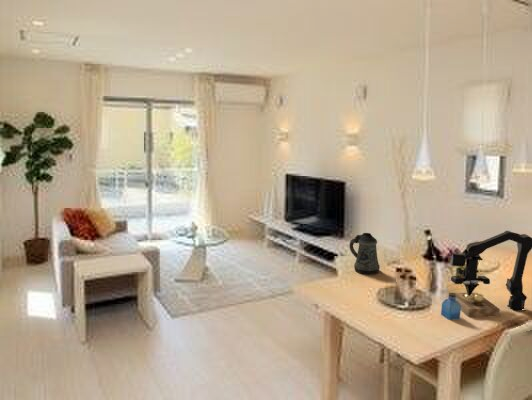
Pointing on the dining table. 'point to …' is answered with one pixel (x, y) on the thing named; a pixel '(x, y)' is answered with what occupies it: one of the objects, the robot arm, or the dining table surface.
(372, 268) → the beer stein
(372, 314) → the dining table surface
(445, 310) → the perfume bottle
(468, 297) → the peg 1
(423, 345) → the dining table surface
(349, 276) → the dining table surface
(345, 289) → the dining table surface
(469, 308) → the socket board
